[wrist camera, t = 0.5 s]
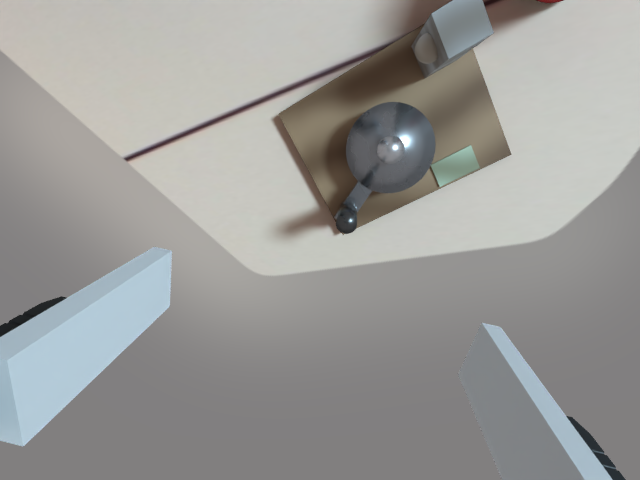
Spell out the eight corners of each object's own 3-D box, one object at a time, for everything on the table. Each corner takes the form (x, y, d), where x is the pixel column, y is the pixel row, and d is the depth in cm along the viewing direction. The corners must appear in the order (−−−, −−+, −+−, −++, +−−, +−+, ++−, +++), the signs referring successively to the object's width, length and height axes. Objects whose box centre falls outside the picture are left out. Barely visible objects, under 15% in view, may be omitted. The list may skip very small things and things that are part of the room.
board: (280, 114, 32) (252, 107, 23) (453, 8, 28) (495, -48, 19) (343, 232, 35) (338, 263, 27) (506, 153, 31) (563, 161, 22)
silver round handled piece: (377, 86, 29) (382, 74, 23) (447, 134, 30) (470, 134, 24) (310, 196, 33) (299, 210, 27) (373, 236, 34) (377, 258, 28)
